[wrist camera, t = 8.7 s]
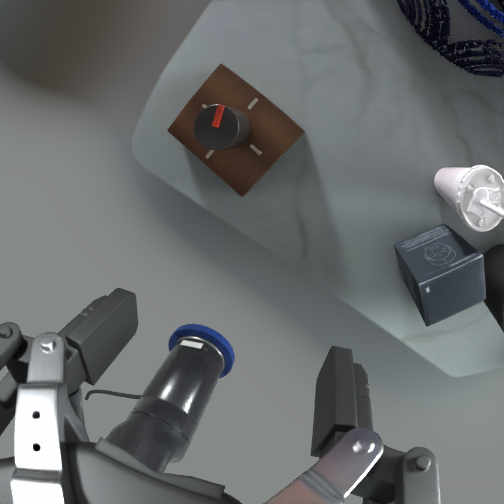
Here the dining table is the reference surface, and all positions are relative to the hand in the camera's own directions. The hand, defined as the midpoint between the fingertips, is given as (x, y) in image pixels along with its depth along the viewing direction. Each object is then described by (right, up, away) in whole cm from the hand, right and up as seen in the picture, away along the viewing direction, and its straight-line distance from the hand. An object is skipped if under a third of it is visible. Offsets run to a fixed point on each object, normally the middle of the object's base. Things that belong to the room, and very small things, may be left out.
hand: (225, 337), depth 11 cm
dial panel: (-1, +18, +21) cm, 27 cm away
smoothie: (+25, +12, +17) cm, 32 cm away
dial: (-1, +17, +18) cm, 24 cm away
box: (+23, +3, +21) cm, 32 cm away
